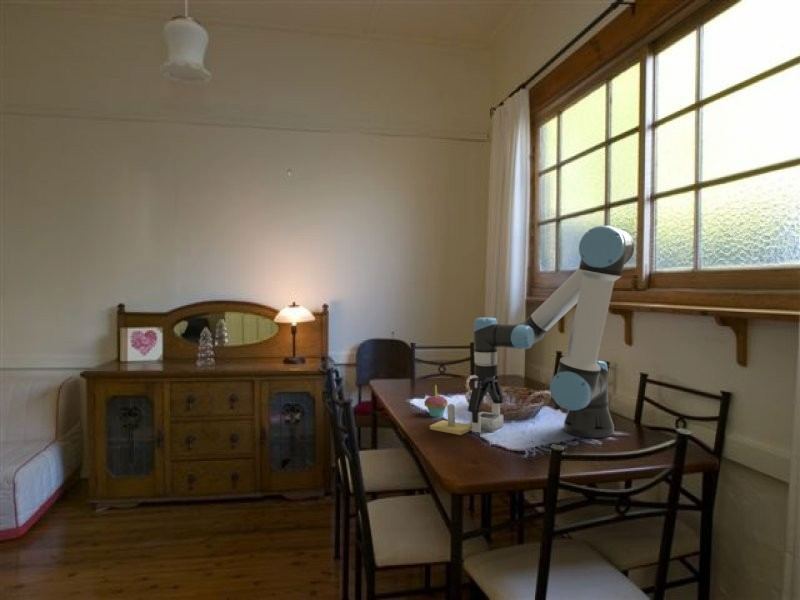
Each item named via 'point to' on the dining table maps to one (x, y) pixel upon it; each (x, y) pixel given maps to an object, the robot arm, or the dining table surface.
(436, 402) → the cupcake
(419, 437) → the dining table surface
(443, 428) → the keeper post
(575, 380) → the robot arm
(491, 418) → the beige square box
